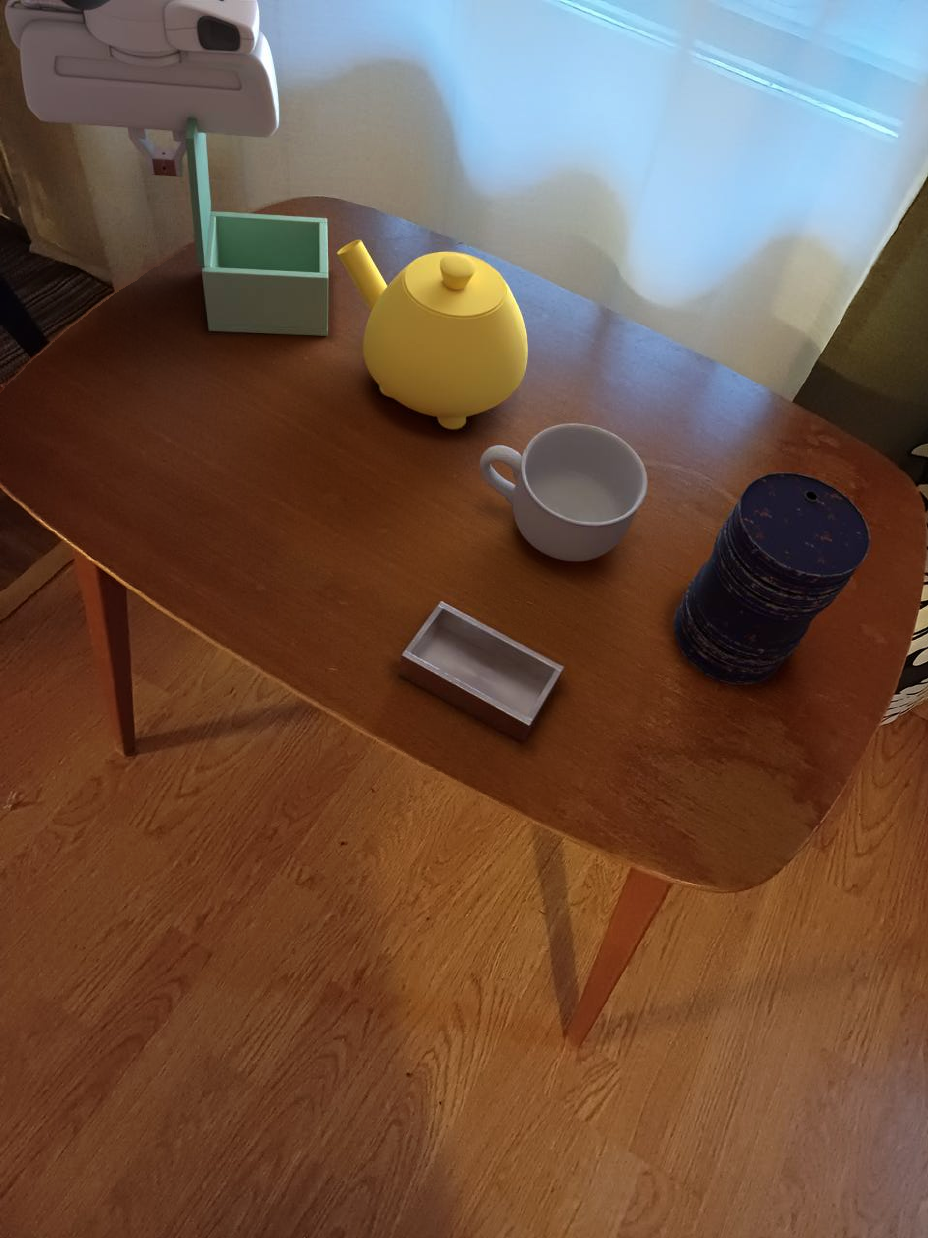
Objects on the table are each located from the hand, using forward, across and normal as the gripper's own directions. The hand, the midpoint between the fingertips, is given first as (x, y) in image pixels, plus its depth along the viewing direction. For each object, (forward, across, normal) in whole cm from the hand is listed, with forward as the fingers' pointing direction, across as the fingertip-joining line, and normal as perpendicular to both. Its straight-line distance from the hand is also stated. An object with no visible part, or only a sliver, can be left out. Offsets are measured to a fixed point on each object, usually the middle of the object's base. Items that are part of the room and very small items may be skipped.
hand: (166, 172), depth 83 cm
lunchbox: (+13, +8, 0) cm, 16 cm away
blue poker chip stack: (+14, +47, -41) cm, 64 cm away
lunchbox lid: (0, +3, 0) cm, 3 cm away
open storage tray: (+13, +25, -45) cm, 54 cm away
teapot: (+14, +23, -10) cm, 29 cm away
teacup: (+14, +33, -29) cm, 46 cm away
